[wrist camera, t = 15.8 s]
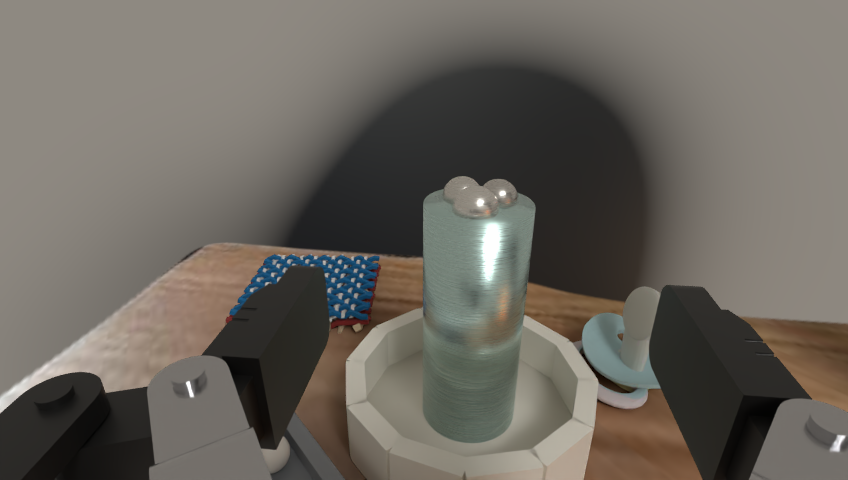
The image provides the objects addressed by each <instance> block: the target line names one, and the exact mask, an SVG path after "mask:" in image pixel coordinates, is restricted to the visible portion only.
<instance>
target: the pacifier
mask: <svg viewBox="0 0 848 480" xmlns="http://www.w3.org/2000/svg"><path fill="white" fill-rule="evenodd" d="M660 295H661V294H660V293H659V292H658V291H656V290H654V289H653V288H650V287H639V288H637V289H635V290H634V291H633V292H632V293H631V294H630V295H629V297H628V298H627V300H626V302H625V305H624V309H623V317H622V316H620V315H617V314H613V313H601V314H598V315H596V316H594V317H592V318H591V319H590V320H589V321H588V322H587V323H586V325H585V326H584V329H583V332H582V341H577V342H574V343H573V345H574V346H575V348H576V349H577V350H578V352H579V353H580V355H582V354H583V353H585V355H586V358H587V359H588V361H589V362H590V364H591V365H592V366H593V367H594V368H595V369H596V370H597V371H598V372H599V373H600V374H601V375H603V376H605V377H606V378H608V379H610V380H611V381H613V382H614V383H615V384H616V385H618V386H619V387H621V388H623V389H625V390H627V391H629V392H632V393H618V392H614V391H612V390H610V389H607V388H605V387H604V386H602V385H601V384H599V383H598V394H597V399H598V400H600V401H602V402H604V403H606V404H609V405H611V406H613V407H618V408H622V409H635V408H638V407H640V406H642V405H643V404H644V403H645V402H646V400H647V397H648V390H649V389H661V387H660V385H659V383H658V381H657V379H656V377H655V374H654V372H653V370H652V368H651V364H650V360H649V341H650V337H651V332H652V328H653V324H654V320H655V316H656V311H657V307H658V303H659V299H660ZM619 333H623V334H624V335H623V340H622V341H621V340H620V339H619V338H618V336H617V335H618V334H619Z"/></svg>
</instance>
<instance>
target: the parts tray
mask: <svg viewBox="0 0 848 480" xmlns="http://www.w3.org/2000/svg"><path fill="white" fill-rule="evenodd" d="M261 450H262V453H263V456H264V459H265V461H266V464H267V467H268V470H269V473H270V475H271V478H272V480H345V479H344V477H343V476H342V475H341V473H340V472H339V471H338V469H337V468H336V467H335V465H334V464H333V463H332V461H331V460H330V459H329V457H328V456H327V455H326V453H325V452H324V451H323V449H322V448H321V447H320V445H319V444H318V443H317V441H316V440H315V439H314V437H313V436H312V435H311V433H310V432H309V431H308V429H307V428H306V427H305V425H304V424H303V423H302V421H301V420H300V419H299V417H298V416H297V415H296V413H295V412H294V414H293V416H292V418H291V420H290V422H289V424H288V427H287V429H286V431H285V433H284V435H283V437H282V439H281V441H280V443H279V446H278V448H277V450H270V449H261Z"/></svg>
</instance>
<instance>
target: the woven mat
mask: <svg viewBox="0 0 848 480" xmlns="http://www.w3.org/2000/svg"><path fill="white" fill-rule="evenodd" d="M280 256H281V255H278V256H277V255H275V254H274V255H272V256H270V257H268V258H267V259H265V260H264V263H263V266H261V268H259V270H258V271H257V272H258V273H257V275H255V277H253V278H252V280H251V284H249V286H248V287H247V288H246V289H245V290H244V292H245V294H243V295H242V296H241V297H239V299H238V303H240V304H238V305H235V306H234V308H233V309H231V311H230V316H229V317H227V318H226V323H228V322H229V321H232V317H233V316H234V315H235V314H236V312H237V311H238V310H241V306H242V305H243V304H244V303H245V302H246V300H247V299H248V298H249V297H250V295H251V294H253V293H254V292H256V291H258V290H259V289H261V288H262V287H264V286H266V285H267V284H277V282H278V281H279V280H280V278H281V277H282V276H283V274H284V273H285V272H286V270H287V269H288V268H289V267H290V266H291V265H297V266H316V267H322V268H323V270H324V273H325V281H326V290H327V299H328V309H329V318H330V329H333V328H334V327H336V326H338V333H342V331H343V329H344V327H345V325H354V326H352V327H353V328H354V330H355V332H356V333H357V332H360V331H362V328H363V324H369V321H370V320H371V317H370V316H368V315H367V314H371V308H370V307H372V301H373V298H374V297H375V294H374V292H373V293H372V291H375V287H376V283H377V277H378V275H379V274H378V272H379V270H380V269H381V266H380V265H378V263H374V262H372V261H375V260H376V261H379V256H373V257H370V258H368V257H367V256H365V257H362V255H359V256H357V257H351V259H349V258H347V257H345V256H344V255H343V254H342V255H340V256H338V257H337V258H336V256H332V258H331V257H329V255H327V256H326V255H323V256H321V257H319V256H314V257H313V256H312V254H310V255H308V256H306V257H305V256H304V255H303V256H301V257H300V258H299V257H296V256H295V254H291V255H289V256H288V257H287V256H285V255H284V256H282V257H280ZM273 259H274V260H273ZM271 260H273V261H271ZM328 261H329V262H328ZM343 261H344V262H343ZM356 261H357V262H356ZM366 265H367V266H366ZM368 301H369V302H368ZM336 319H338V320H336ZM333 320H336V321H334V322H333ZM330 329H329V332H330Z"/></svg>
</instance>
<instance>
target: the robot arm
mask: <svg viewBox="0 0 848 480" xmlns="http://www.w3.org/2000/svg"><path fill="white" fill-rule="evenodd" d="M329 329H330V318H329V309H328V299H327V290H326V281H325V273H324V270H323V268H322V267H316V266H297V265H291V266H290V267H289V268H288V269H287V270H286V272H285V273H284V274H283V276H282V277H281V278H280V280H279V281H278V282H277V284H267V285H266V286H264V287H262V288H261V289H259V290H258V291H256V292H254V293H253V294H251V295H250V297H249V298H248V299H247V300H246V302H245V303H244V304H243V305H242V306H241V310H238V311H237V312H236V314H235V315H234V316H233V317H232V321H229V322H228V323H227V325H226V326H225V327H224V328H223V330H222V331H221V332H220V333H219V334H218V336H217V337H216V338H215V339H214V341H213V342H212V343H211V344H210V345H209V347H208V348H207V349H206V350H205V352H204V353H203V354H202V355H201V356H194V357H189V358H185V359H182V360H180V361H177V362H175V363H173V364H171V365H169V366H167V367H165V368H164V369H163V370H161V371H160V372H159V373H158V374H157V375H155V377H154V378H153V379H152V380H151V382H150V383H149V386H148V387H143V388H136V389H130V390H123V391H117V392H110V393H106V392H105V390H104V387H103V384H102V382H101V379H100V378H99V377H98V376H96V375H94V374H91V373H86V372H76V373H68V374H64V375H60V376H57V377H54V378H51V379H48V380H46V381H44V382H42V383H39V384H37V385H36V386H34V387H32V388H30V389H29V390H27V391H26V392H24V393H23V394H22V395H21V396H19V397H18V398H17V399H16V400H15V401H14V402H13V403H12V404H10V405H9V406H8V407H7V408H6V409H5V410H4V411H3V412H2V413H0V480H272V478H271V475H270V473H269V470H268V467H267V464H266V461H265V459H264V456H263V453H262V450H261V449H270V450H277V448H278V446H279V443H280V441H281V439H282V437H283V435H284V433H285V431H286V429H287V427H288V424H289V422H290V420H291V418H292V416H293V414H294V412H295V410H296V408H297V405H298V403H299V401H300V399H301V397H302V395H303V393H304V391H305V389H306V386H307V384H308V382H309V380H310V378H311V376H312V374H313V372H314V370H315V367H316V365H317V363H318V361H319V359H320V357H321V355H322V353H323V351H324V349H325V346H326V344H327V341H328V337H329ZM649 360H650V364H651V368H652V370H653V372H654V374H655V377H656V379H657V381H658V383H659V385H660V387H661V390H662V392H663V394H664V396H665V398H666V400H667V403H668V405H669V407H670V409H671V411H672V413H673V416H674V418H675V420H676V422H677V424H678V426H679V429H680V431H681V433H682V435H683V437H684V439H685V442H686V444H687V446H688V448H689V450H690V452H691V455H692V457H693V459H694V461H695V463H696V465H697V468H698V470H699V472H700V474H701V476H702V478H703V480H848V412H846V411H844V410H842V409H839V408H837V407H835V406H832V405H829V404H827V403H823V402H820V401H816V400H812V398H811V397H810V396H809V395H808V394H807V393H806V391H805V390H804V389H803V388H802V387H801V385H800V384H799V383H798V382H797V381H796V379H795V378H794V377H793V376H792V375H791V373H790V372H789V371H788V370H787V369H786V367H785V366H784V365H783V364H782V363H781V361H780V360H779V359H778V358H777V357H774V353H773V352H772V351H771V349H770V348H769V347H768V346H767V345H766V343H763V340H762V339H761V337H760V336H759V335H758V334H757V333H756V331H755V330H754V329H753V328H752V327H751V325H750V324H748V323H747V322H745V321H744V320H742V319H741V318H739V317H738V316H736V315H735V314H733V313H732V312H730V311H729V310H721V309H720V308H719V306H718V305H717V304H716V302H715V301H714V300H713V299H712V297H711V296H710V295H709V293H708V292H707V291H706V290H705V289H704V288H703V287H695V286H694V287H693V286H674V285H666V286H665V287H664V288H663V290H662V292H661V295H660V299H659V303H658V307H657V311H656V316H655V320H654V324H653V328H652V332H651V337H650V341H649Z"/></svg>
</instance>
